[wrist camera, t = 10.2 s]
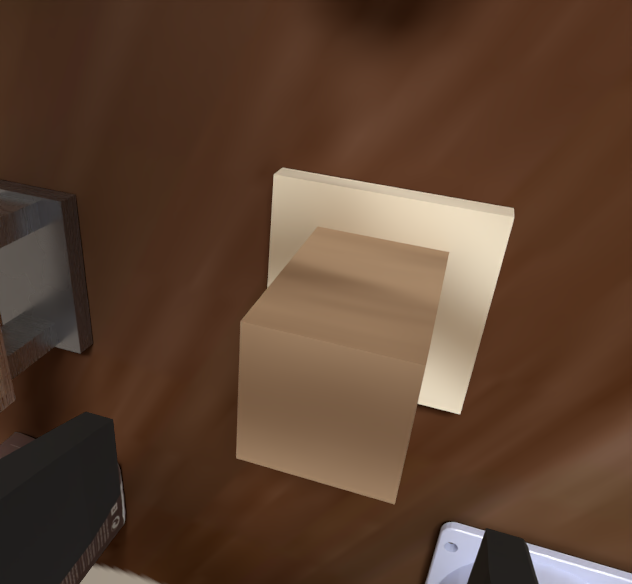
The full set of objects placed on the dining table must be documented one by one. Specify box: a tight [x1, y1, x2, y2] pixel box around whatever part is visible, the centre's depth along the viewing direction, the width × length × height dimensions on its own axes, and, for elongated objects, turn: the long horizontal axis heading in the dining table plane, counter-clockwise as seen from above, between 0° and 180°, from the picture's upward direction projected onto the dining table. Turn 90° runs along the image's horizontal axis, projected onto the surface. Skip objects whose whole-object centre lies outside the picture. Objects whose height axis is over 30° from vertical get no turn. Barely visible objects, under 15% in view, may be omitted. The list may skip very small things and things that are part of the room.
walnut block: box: [236, 227, 449, 504], centre depth 15 cm, size 4×4×6 cm
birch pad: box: [267, 168, 514, 414], centre depth 18 cm, size 7×7×1 cm
